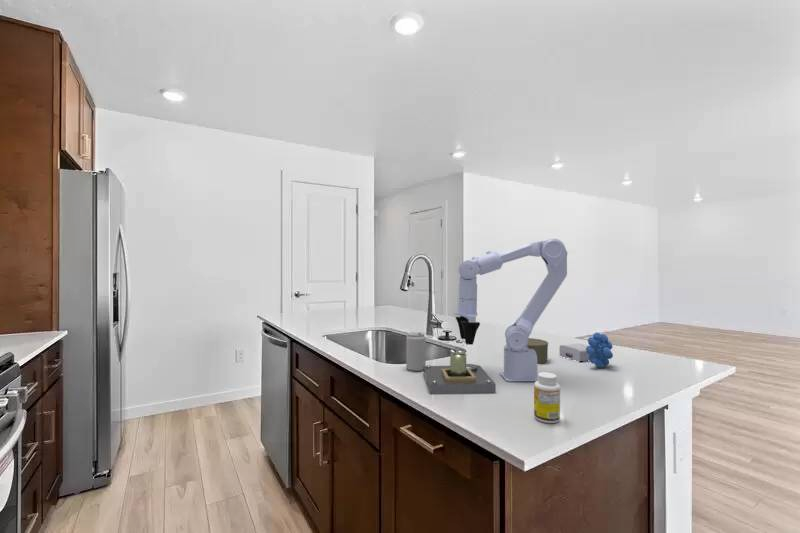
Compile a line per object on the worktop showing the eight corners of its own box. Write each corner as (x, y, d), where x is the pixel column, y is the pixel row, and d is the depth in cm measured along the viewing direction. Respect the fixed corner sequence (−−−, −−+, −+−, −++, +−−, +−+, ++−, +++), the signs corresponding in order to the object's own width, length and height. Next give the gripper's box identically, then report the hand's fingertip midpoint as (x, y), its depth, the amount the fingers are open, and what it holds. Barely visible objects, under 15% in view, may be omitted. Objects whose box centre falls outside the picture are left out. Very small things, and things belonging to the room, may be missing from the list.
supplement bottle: (539, 412, 92) (539, 369, 92) (563, 418, 88) (563, 374, 88) (530, 419, 88) (530, 375, 87) (555, 426, 84) (555, 380, 84)
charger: (609, 359, 141) (579, 363, 135) (588, 353, 150) (559, 357, 144) (610, 346, 141) (579, 349, 135) (588, 341, 149) (559, 344, 144)
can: (548, 366, 131) (548, 346, 131) (511, 363, 135) (511, 343, 135) (548, 357, 142) (548, 339, 142) (514, 355, 146) (514, 337, 146)
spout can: (464, 382, 114) (465, 348, 113) (467, 387, 109) (467, 351, 109) (448, 382, 114) (449, 347, 114) (450, 387, 109) (450, 351, 109)
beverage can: (424, 372, 123) (424, 335, 123) (404, 371, 125) (404, 334, 124) (426, 367, 130) (426, 331, 129) (408, 366, 131) (408, 331, 131)
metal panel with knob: (479, 373, 123) (479, 362, 123) (495, 393, 105) (495, 380, 105) (423, 373, 122) (423, 362, 122) (429, 393, 104) (429, 381, 104)
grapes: (598, 373, 123) (598, 336, 122) (580, 367, 129) (581, 332, 129) (623, 369, 127) (623, 333, 127) (604, 364, 134) (605, 329, 133)
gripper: (451, 296, 128) (450, 336, 129) (459, 301, 114) (458, 346, 114) (472, 296, 128) (471, 336, 129) (483, 301, 114) (482, 347, 114)
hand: (466, 341), depth 121 cm, fingers open, 7 cm apart
